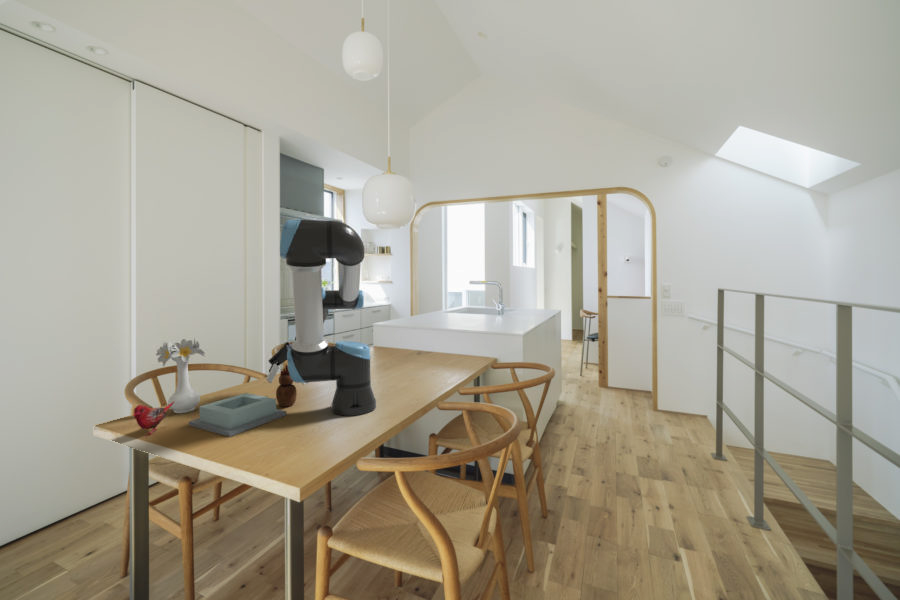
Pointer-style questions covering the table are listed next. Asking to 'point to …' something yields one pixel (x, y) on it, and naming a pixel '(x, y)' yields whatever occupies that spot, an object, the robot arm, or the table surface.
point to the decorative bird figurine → (149, 416)
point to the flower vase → (181, 373)
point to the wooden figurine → (286, 389)
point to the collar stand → (237, 414)
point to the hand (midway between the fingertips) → (285, 382)
